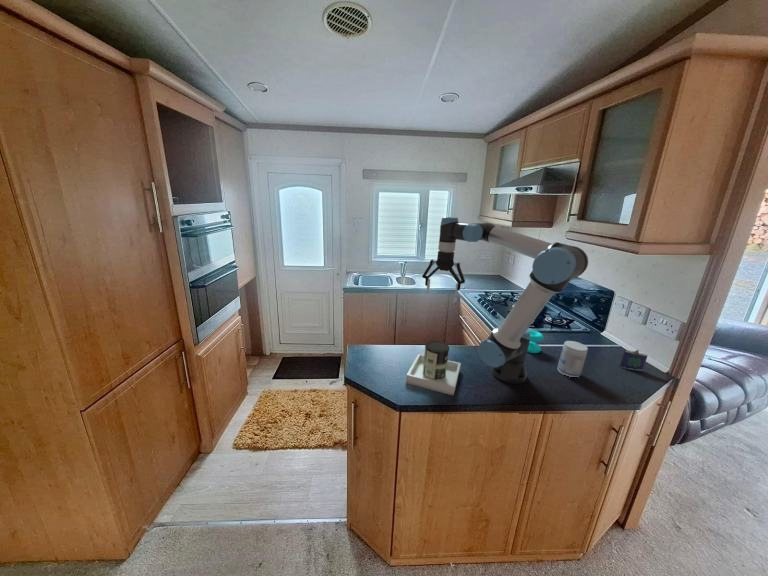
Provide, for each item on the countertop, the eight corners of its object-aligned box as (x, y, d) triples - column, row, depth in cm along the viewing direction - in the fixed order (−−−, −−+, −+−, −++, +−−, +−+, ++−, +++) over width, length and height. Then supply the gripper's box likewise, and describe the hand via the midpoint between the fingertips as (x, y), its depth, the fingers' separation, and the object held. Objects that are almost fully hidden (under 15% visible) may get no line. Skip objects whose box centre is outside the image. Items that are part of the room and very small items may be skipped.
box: (459, 370, 135) (460, 363, 134) (453, 395, 117) (454, 387, 116) (417, 360, 142) (418, 353, 141) (405, 383, 124) (406, 374, 123)
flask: (641, 370, 144) (647, 350, 141) (643, 373, 142) (650, 353, 139) (618, 365, 148) (624, 346, 144) (620, 368, 145) (626, 349, 142)
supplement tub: (552, 367, 143) (559, 339, 139) (572, 368, 143) (579, 340, 139) (564, 378, 134) (571, 349, 129) (585, 379, 134) (593, 350, 129)
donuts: (548, 336, 153) (532, 337, 151) (544, 353, 156) (528, 354, 154) (534, 328, 162) (519, 329, 160) (531, 344, 165) (516, 346, 163)
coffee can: (445, 370, 133) (449, 342, 129) (445, 383, 124) (449, 353, 120) (423, 366, 135) (425, 339, 131) (421, 379, 125) (424, 349, 122)
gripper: (474, 252, 135) (468, 296, 141) (422, 247, 144) (418, 288, 149) (473, 254, 128) (467, 300, 134) (418, 249, 137) (414, 292, 143)
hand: (441, 294), depth 142 cm, fingers open, 13 cm apart
